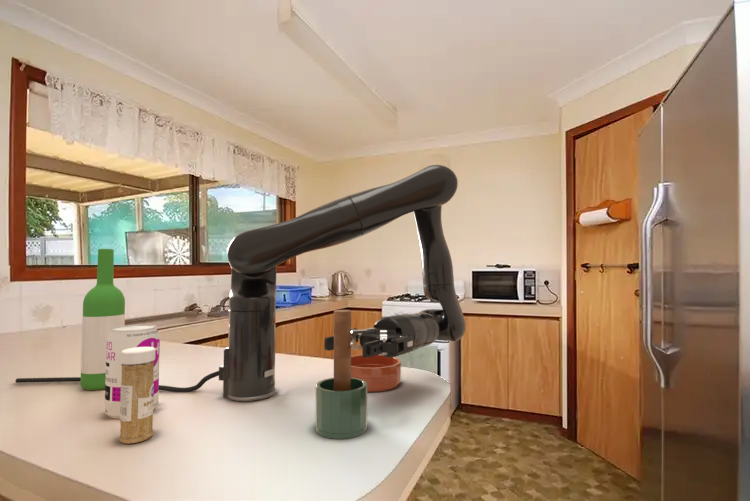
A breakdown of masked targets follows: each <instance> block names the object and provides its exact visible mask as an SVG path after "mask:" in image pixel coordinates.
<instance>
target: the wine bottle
mask: <svg viewBox="0 0 750 501" xmlns="http://www.w3.org/2000/svg"><path fill="white" fill-rule="evenodd" d="M114 257H115V250H114V249H113V248H98V249H97V266H96V267H97V268H96V269H97V270H96V285H95V286H94V287H92V288H91V289H90V290H88V292H87V293H86V294H85V296H84V298H83V301H82V316H81V318H82V320H81V321H82V322H81V348H80V350H81V352H80V377H81V382H80V387H81V388H82V389H84V390H86V391H100V390H105V378H106V344H107V337H108V335H109V333H110V332H111V329H112V328H115V327H121V326H126V325H125V324H126V322H125V321H126V299H125V298H126V297H125V295H124V293H123V292H122V290H120V289H119V288H118V287H117V286H116V285H115V284H114V268H115V267H114V266H115V265H114V264H115V260H114V259H115V258H114Z"/></svg>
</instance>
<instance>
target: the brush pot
mask: <svg viewBox="0 0 750 501" xmlns="http://www.w3.org/2000/svg"><path fill="white" fill-rule="evenodd" d="M367 429H368V392H367V383H366V381H364V380H361V379H358V378H352V377H351V390H348V391H334V377H330V378H329V377H328V378H325V379H322V380H320V381H317V383H316V384H315V431H316V433H317V434H318V435H319V436H321V437H324V438H328V439H331V440H332V439H333V440H346V439H347V440H348V439H352V438H357V437H359V436H362V435H363V434H365V432H366V431H367Z"/></svg>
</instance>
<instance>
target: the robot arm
mask: <svg viewBox="0 0 750 501" xmlns="http://www.w3.org/2000/svg"><path fill="white" fill-rule="evenodd" d="M458 184H459V182H458V177H457V175H456V173H455V172H454V171H453V170H452V169H451V168H450V167H448V166H446V165H442V164H431V165H427V166H426V167H424V168H422V169H420V170H418V171H417V172H415V173H413V174H411V175H408V176H406V177H404V178H402V179H399V180H396V181H395V182H391V183H388V184H383V185H380V186H377V187H373V188H372V187H371V188H369V189H365V190H362V191H358V192H355V193H352V194H349V195H346V196H343V197H340V198H337V199H334V200H332V201H329V202H327V203H324V204H322V205H320V206H317V207H315V208H312V209H310V210H308V211H306V212H304V213H302V214H300V215H298V216H296V217H294V218H291V219H289V220H284V221H282V222H278V223H275V224H271V225H267V226H262V227H258V228H254V229H250V230H245V231H242V232H240V233H239V234H237V235H235V237H233V239H232V240H231V241H230V243H229V244H228V247H227V252H226V256H227V261H228V263H229V265H230V268H231V272H230V273H231V274H230V290H229V296H228V329H227V330H228V335H227V336H228V337H227V339H228V340H227V341H228V342H227V343H228V344H227V347H225V348H224V349H223V365H220V366H219V367H218V370H216V371H214V372H211V373H209V374H207V375H206V376H203V377H202V378H201V379H200V380H199V381H198V382H197V383H196V384H195V385H192V386H187V387H177V386H170V385H162V384H159V391H163V392H164V391H165V392H172V393H190V392H194V391H197V390H199V389H200V388H202V387H203V386H204V384H205V383H206V382H208V381H209V380H212V379H213V378H216V377H218V381H222V386H223V388H222V398H224V399H225V398H226V399H229V400H231V401H237V402H252V401H253V402H254V401H258V400H264V399H267V398H269V397H272V396H274V395H275V393H276V315H277V314H276V313H277V312H276V306H277V304H276V302H277V266H279V265H281V264H282V263H285V262H287V261H289V260H291V259H293V258H295V257H297V256H300V255H303V254H306V253H310V252H313V251H317V250H322V249H327V248H330V247H334V246H338V245H341V244H344V243H347V242H351V241H353V240H355V239H357V238H361V237H363V236H365V235H368V234H370V233H372V232H375V231H377V230H378V229H380V228H383V227H384V226H386V225H388V224H389V223H392V222H393V221H396V220H397V219H399V218H401V217H403V216H405V215H408V214H411V213H413V216H414V220H415V226H416V232H417V236H418V244H419V250H420V261H421V273H422V274H421V276H422V288H423V295H424V296H425V298H427V299H429V300H432V301H436V302H438V303H439V305H440V307H441V309H440V308H428V309H427V308H426V309H423V310H421V311H419V312H415V313H402V314H396V315H390V316H389V315H388V316H384V317H381V318H379V319H378V320H377V321H376V322H374V324H373V327H366V328H364V329H359V328H357V327H353V328H351V350H353V351H356V350H357V351H358V350H359V351H360V350H362V355H363V357H366V358H369V357H372V356H376V355H383V356H385V357H388V358H392V357H396V358H397V357H399V356H403V355H406V354H410V353H412V352H415V351H416V350H419V349H420V348H424V347H427V346H430V345H432V344H433V343H435V342H436V341H443V342H445V341H446V342H457V341H460V340H461V339H462V338H463V337H464V334H465V333H466V328H467V327H466V319H465V316H464V313H463V310H462V307H461V305H460V302H459V299H458V295H457V292H456V288H455V276H454V266H453V260H452V255H451V252H450V249H449V246H448V244H447V240H446V237H445V233H444V230H443V224H442V210H443V208H442V207H443V206H444V205H445V204H447V203H448V202H451V200H452V198H454V196H455V195H456V193H457V189H458V186H459V185H458ZM357 343H359V345H357ZM323 345H324V346H323V347H324V350H325V351H334V335H331V336H326V337H325V338H324V344H323ZM14 382H15V383H16V384H17V383H18V384H22V383H24V384H25V383H27V384H28V383H70V382H71V383H72V382H75V383H76V382H77V383H81V376H74V377H73V376H68V377H65V376H64V377H60V376H59V377H21V378H19V377H18V378H16V379H15V381H14Z"/></svg>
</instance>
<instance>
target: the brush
mask: <svg viewBox="0 0 750 501" xmlns="http://www.w3.org/2000/svg"><path fill="white" fill-rule="evenodd" d="M351 329H352V310H350V309H335V310H333V336H334V350H333V378H334V391H348V390H351V356H352V348H351Z"/></svg>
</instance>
